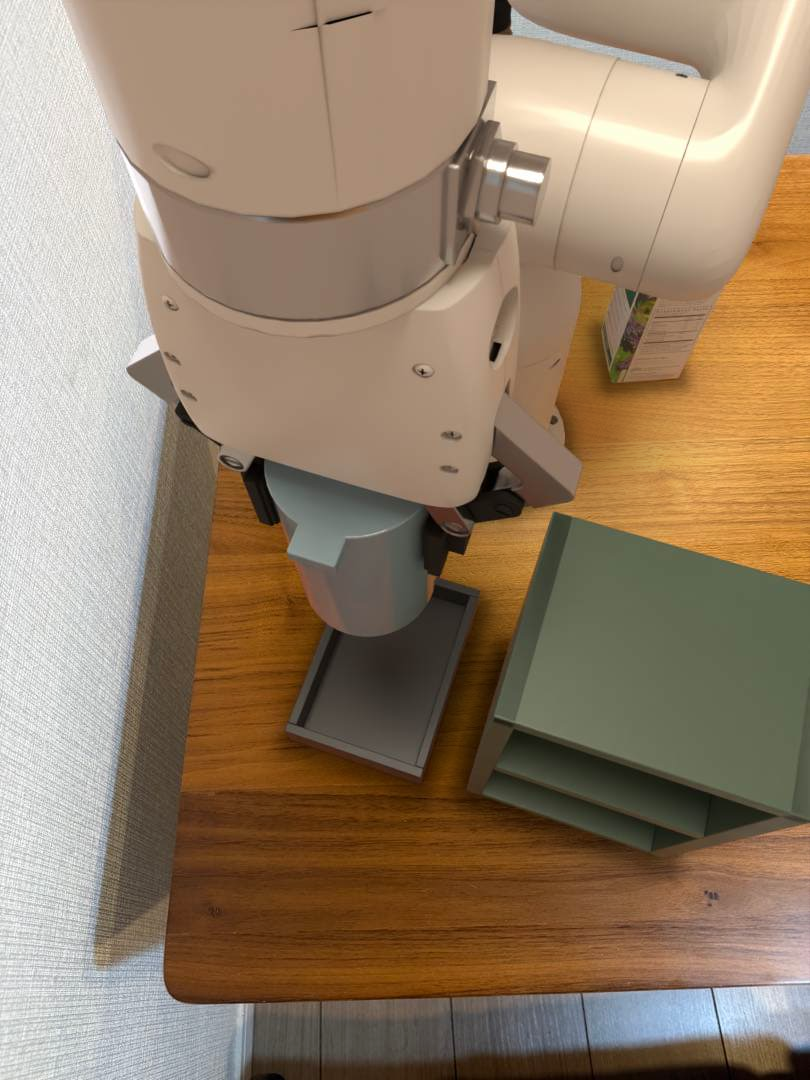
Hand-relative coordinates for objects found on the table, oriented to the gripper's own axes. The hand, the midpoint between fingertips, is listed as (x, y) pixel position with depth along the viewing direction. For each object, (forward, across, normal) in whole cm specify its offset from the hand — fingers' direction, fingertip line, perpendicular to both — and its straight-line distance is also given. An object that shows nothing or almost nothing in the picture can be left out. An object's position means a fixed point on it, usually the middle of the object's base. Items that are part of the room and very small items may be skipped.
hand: (361, 517), depth 34 cm
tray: (+25, 0, -1) cm, 25 cm away
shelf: (+25, -14, 0) cm, 29 cm away
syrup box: (+25, -11, -33) cm, 43 cm away
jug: (+6, 0, 0) cm, 6 cm away
